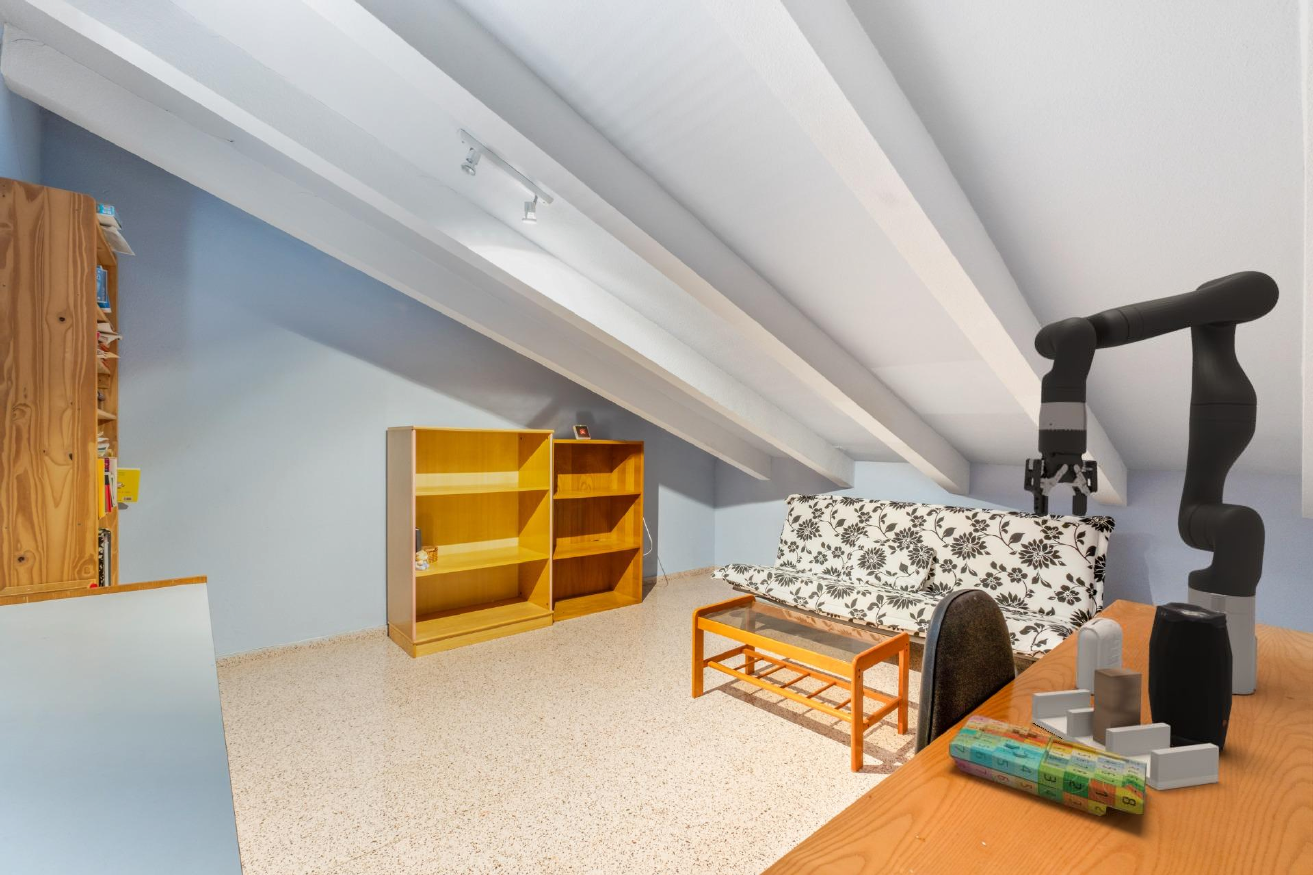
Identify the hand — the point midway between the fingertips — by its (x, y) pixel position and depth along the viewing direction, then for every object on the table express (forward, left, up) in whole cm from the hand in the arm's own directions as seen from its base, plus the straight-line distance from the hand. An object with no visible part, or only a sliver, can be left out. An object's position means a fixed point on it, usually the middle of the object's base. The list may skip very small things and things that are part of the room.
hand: (1060, 515), depth 116 cm
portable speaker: (+2, +24, -30) cm, 39 cm away
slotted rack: (+15, +24, -30) cm, 41 cm away
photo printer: (-4, +5, -30) cm, 31 cm away
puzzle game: (+32, +29, -31) cm, 53 cm away
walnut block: (+15, +24, -29) cm, 41 cm away
